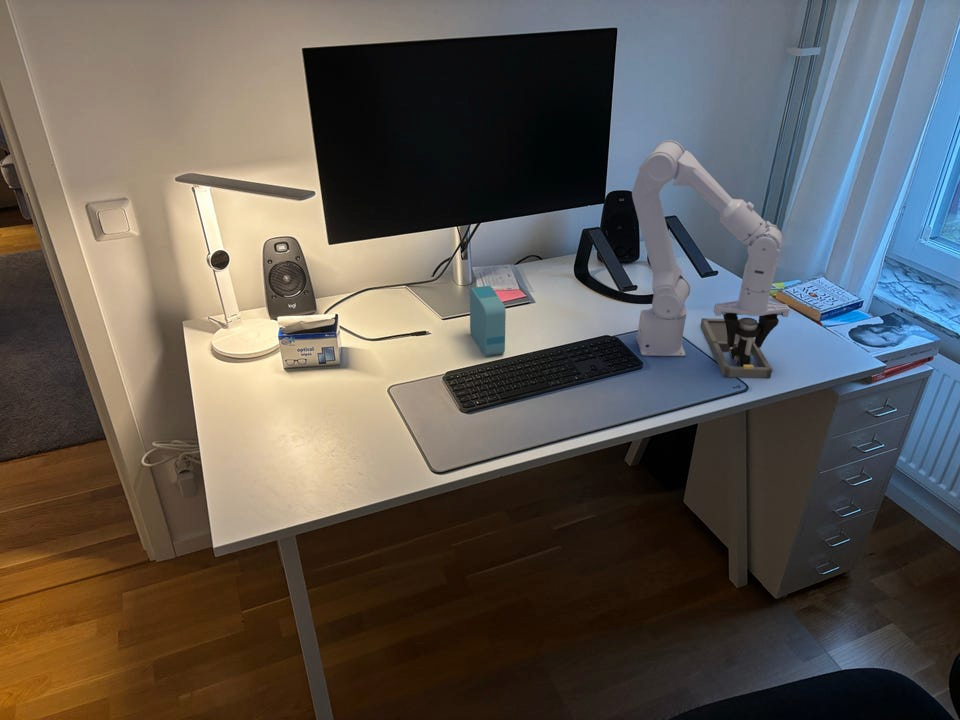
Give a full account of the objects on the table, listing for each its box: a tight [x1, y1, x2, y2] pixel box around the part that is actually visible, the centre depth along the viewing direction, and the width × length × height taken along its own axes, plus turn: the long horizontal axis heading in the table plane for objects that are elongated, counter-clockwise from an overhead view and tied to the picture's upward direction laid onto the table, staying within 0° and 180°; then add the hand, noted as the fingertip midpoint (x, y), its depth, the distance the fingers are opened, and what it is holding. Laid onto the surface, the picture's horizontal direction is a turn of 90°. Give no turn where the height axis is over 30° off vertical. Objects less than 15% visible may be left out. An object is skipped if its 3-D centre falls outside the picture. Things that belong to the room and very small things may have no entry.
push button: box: [729, 317, 761, 367], centre depth 154 cm, size 7×5×10 cm
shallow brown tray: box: [700, 317, 773, 379], centre depth 160 cm, size 10×22×3 cm, turn 178°
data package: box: [469, 285, 507, 357], centre depth 160 cm, size 12×4×12 cm, turn 17°
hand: (743, 345), depth 154 cm, fingers closed on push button, 5 cm apart
